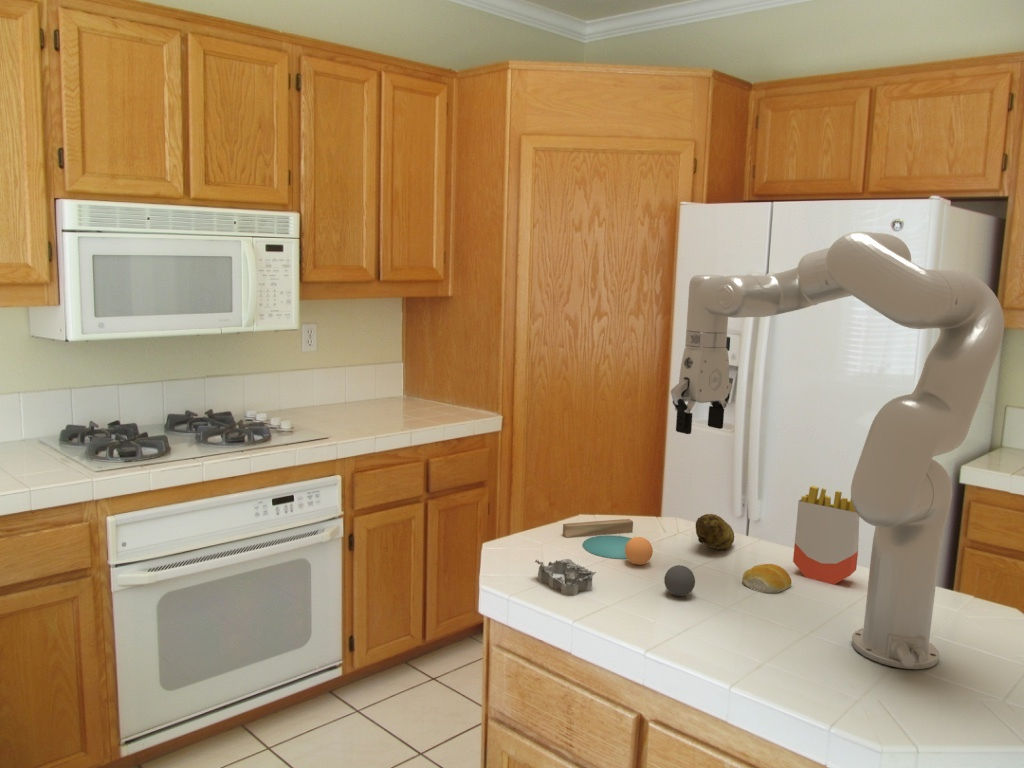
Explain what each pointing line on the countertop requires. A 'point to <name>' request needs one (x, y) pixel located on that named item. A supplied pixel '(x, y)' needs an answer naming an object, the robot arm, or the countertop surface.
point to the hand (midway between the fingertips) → (699, 430)
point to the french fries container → (826, 537)
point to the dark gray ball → (679, 580)
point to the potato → (714, 531)
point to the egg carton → (566, 576)
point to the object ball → (638, 550)
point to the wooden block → (597, 528)
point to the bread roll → (767, 578)
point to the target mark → (607, 546)
